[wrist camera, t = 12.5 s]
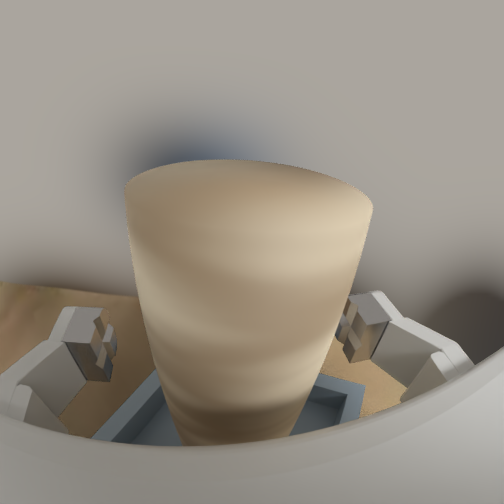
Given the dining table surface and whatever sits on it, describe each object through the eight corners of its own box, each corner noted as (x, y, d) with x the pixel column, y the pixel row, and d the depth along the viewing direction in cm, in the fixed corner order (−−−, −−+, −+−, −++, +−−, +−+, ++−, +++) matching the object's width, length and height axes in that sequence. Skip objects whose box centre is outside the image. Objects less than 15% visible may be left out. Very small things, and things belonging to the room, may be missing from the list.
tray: (94, 468, 10) (75, 454, 8) (196, 350, 19) (193, 327, 18) (289, 566, 6) (299, 571, 4) (352, 405, 15) (365, 385, 14)
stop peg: (169, 459, 11) (74, 194, 4) (213, 400, 15) (211, 154, 8) (253, 499, 9) (369, 273, 3) (288, 430, 13) (373, 184, 7)
